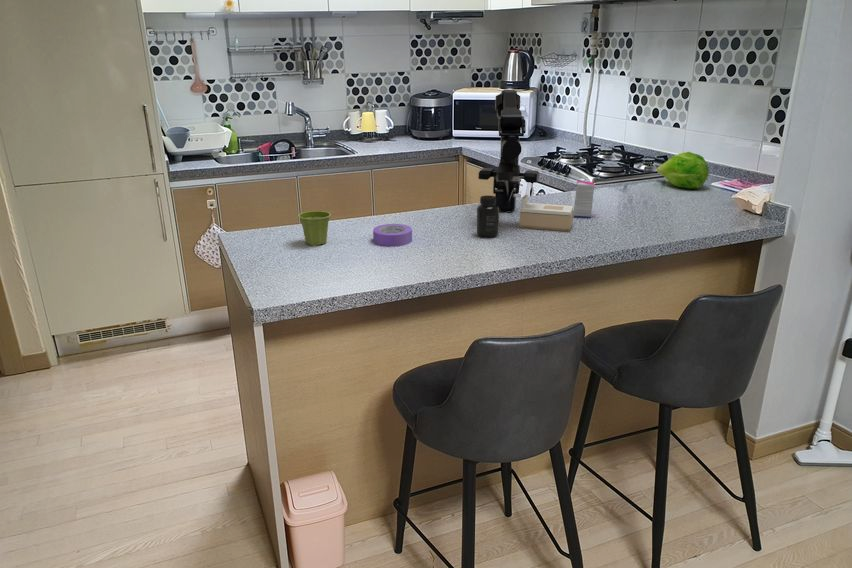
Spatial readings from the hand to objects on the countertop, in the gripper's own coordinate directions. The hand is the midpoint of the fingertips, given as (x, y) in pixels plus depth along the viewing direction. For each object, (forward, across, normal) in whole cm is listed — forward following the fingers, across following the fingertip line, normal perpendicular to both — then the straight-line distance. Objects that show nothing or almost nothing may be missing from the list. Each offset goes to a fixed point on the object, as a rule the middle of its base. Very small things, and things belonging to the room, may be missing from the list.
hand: (507, 201), depth 216 cm
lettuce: (+8, +56, +76) cm, 95 cm away
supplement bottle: (+8, -3, -15) cm, 17 cm away
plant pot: (+8, -50, -38) cm, 63 cm away
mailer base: (+7, +13, 0) cm, 15 cm away
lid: (+2, +13, 0) cm, 13 cm away
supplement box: (+8, +23, +17) cm, 29 cm away
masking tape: (+8, -29, -29) cm, 42 cm away
